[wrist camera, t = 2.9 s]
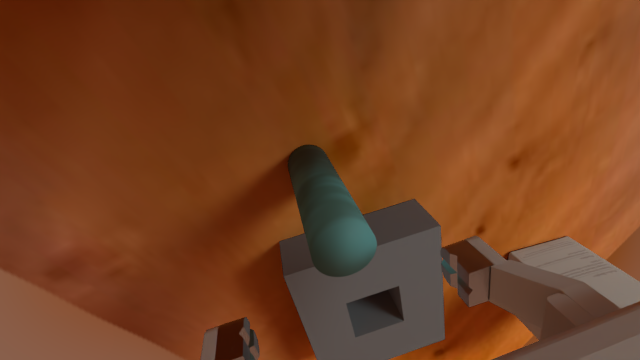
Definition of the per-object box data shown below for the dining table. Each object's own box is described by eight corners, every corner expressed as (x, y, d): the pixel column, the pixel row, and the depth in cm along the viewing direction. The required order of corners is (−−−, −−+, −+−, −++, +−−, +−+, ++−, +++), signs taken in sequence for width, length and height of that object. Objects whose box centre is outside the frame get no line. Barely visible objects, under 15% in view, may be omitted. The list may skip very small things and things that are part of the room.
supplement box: (497, 299, 34) (614, 427, 23) (507, 250, 31) (652, 373, 20) (553, 283, 35) (693, 399, 24) (569, 233, 32) (741, 342, 20)
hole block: (414, 199, 25) (440, 225, 22) (423, 305, 32) (444, 339, 28) (279, 241, 24) (283, 276, 21) (317, 342, 31) (325, 381, 27)
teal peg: (322, 139, 21) (371, 214, 12) (331, 175, 23) (380, 265, 14) (282, 151, 21) (303, 235, 12) (293, 186, 22) (319, 285, 14)
